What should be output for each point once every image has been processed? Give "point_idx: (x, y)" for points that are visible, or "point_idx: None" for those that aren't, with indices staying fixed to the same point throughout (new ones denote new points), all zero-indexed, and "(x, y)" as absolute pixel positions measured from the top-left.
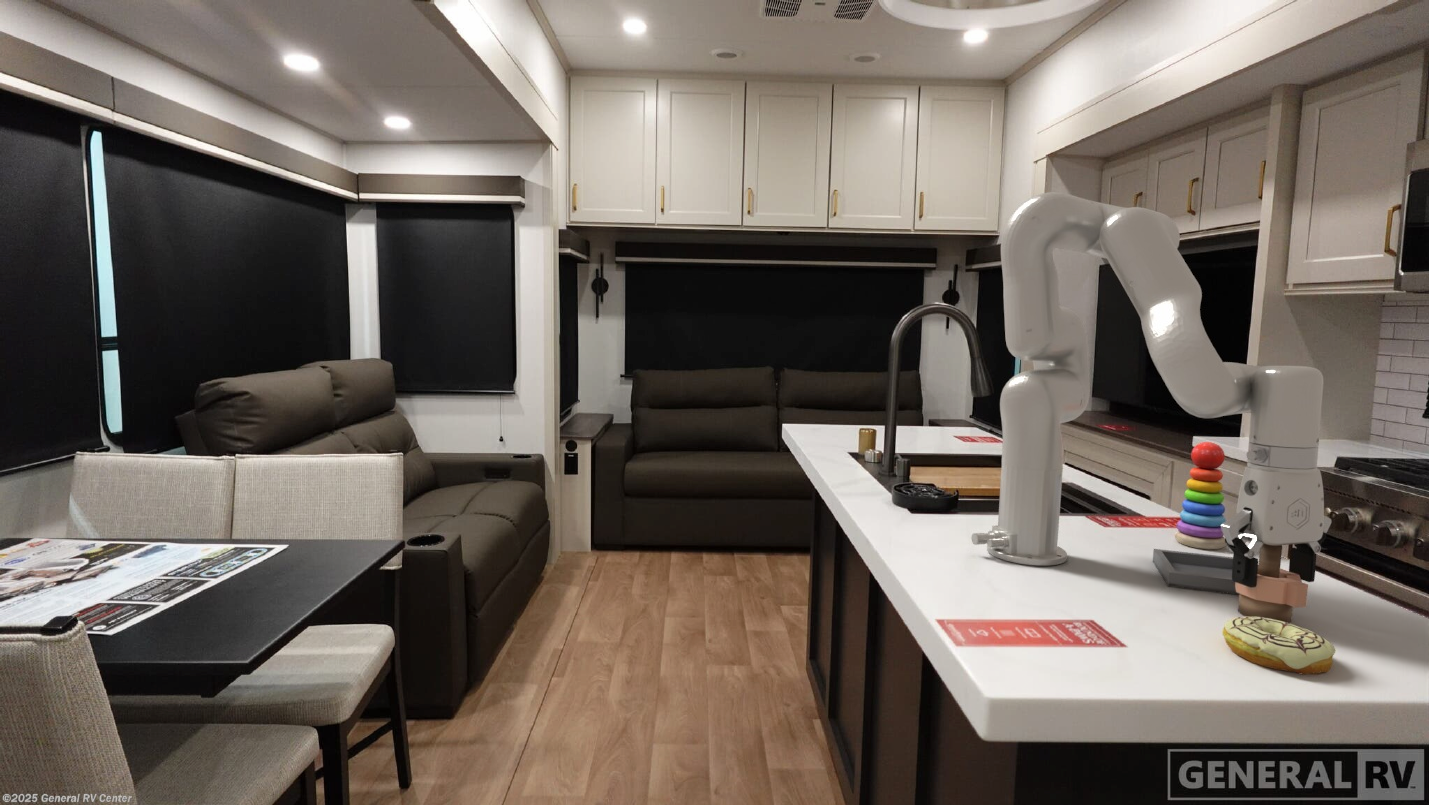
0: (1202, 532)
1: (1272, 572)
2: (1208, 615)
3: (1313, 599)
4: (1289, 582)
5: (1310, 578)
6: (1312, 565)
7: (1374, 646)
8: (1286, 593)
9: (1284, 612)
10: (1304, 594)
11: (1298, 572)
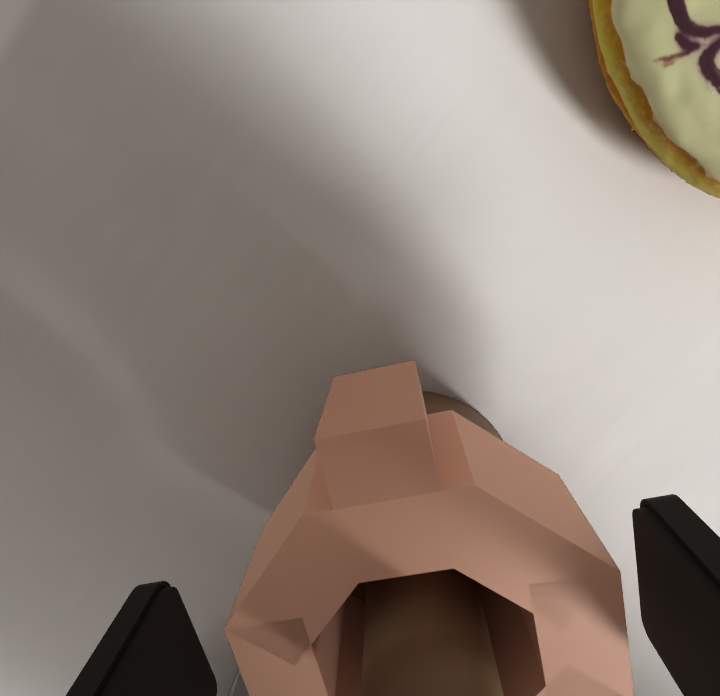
0: None
1: (456, 636)
2: (683, 481)
3: (68, 636)
4: (434, 483)
5: (156, 599)
6: (96, 691)
7: (151, 140)
8: (434, 444)
9: None
10: (345, 404)
11: (182, 678)
